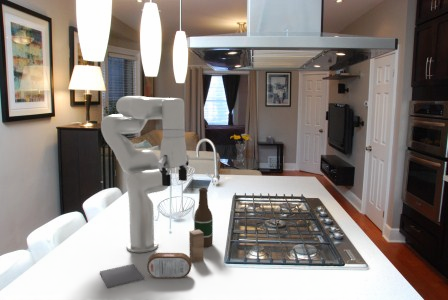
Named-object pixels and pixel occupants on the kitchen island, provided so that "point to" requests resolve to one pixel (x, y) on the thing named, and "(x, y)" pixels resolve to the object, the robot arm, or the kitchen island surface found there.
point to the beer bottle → (204, 218)
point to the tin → (169, 265)
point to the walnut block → (196, 245)
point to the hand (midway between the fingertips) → (174, 182)
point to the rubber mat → (121, 275)
